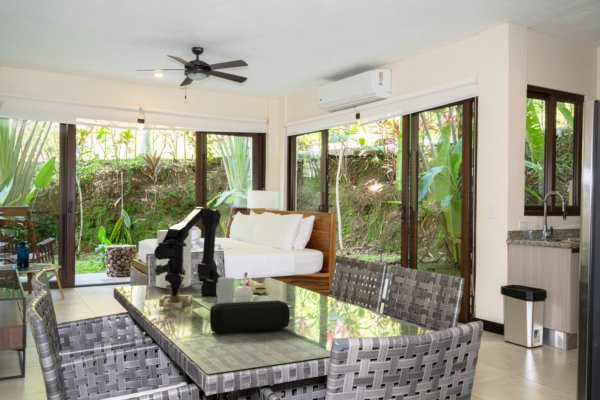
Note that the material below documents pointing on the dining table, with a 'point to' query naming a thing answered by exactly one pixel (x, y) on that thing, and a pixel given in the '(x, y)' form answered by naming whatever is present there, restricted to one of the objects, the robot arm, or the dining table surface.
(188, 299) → the keyhole cradle
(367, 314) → the dining table surface
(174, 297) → the tan brick
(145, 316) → the dining table surface
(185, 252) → the cylinder
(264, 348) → the dining table surface
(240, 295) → the white vase
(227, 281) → the skincare box
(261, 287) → the cat figure
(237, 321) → the portable speaker
